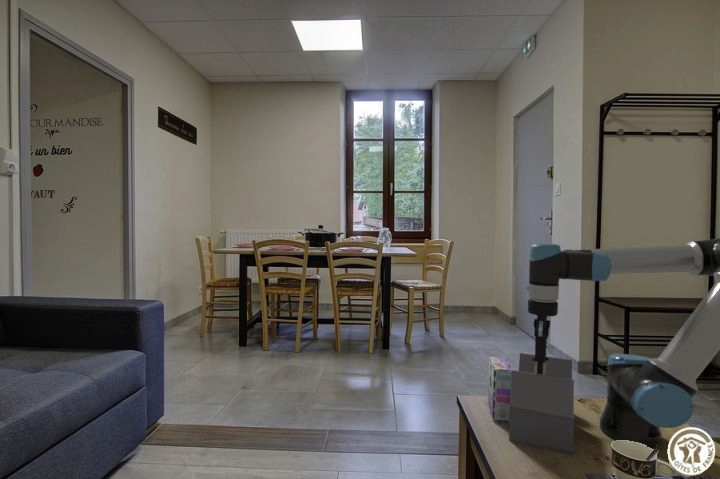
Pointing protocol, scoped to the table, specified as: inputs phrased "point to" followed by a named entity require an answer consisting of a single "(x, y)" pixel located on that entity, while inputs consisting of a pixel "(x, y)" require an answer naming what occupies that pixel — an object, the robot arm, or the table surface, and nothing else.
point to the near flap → (542, 393)
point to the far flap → (547, 366)
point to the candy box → (499, 389)
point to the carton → (542, 430)
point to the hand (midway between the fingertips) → (539, 383)
